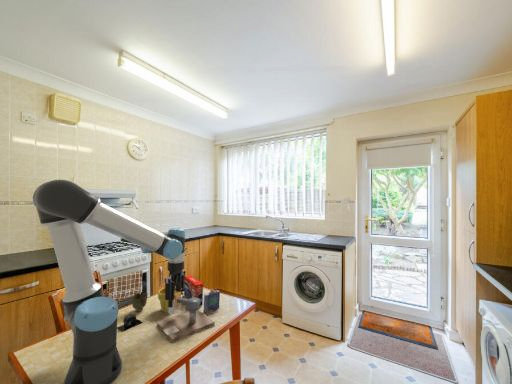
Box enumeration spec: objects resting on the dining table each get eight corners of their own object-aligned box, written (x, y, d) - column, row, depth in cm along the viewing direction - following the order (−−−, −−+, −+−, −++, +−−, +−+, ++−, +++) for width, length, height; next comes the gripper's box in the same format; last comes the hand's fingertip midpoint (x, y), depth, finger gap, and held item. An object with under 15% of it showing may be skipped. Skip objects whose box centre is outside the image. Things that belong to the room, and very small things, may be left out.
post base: (170, 343, 92) (171, 323, 93) (155, 325, 105) (156, 308, 105) (214, 325, 106) (214, 308, 107) (196, 311, 119) (197, 296, 119)
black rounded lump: (139, 318, 112) (139, 308, 112) (147, 323, 108) (147, 313, 108) (111, 330, 102) (111, 319, 102) (119, 335, 98) (119, 324, 98)
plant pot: (166, 316, 114) (166, 296, 114) (153, 310, 119) (153, 291, 120) (182, 308, 123) (183, 289, 123) (170, 303, 128) (170, 285, 128)
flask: (205, 313, 117) (205, 292, 118) (202, 311, 119) (202, 290, 120) (220, 308, 123) (220, 287, 124) (217, 306, 126) (217, 286, 126)
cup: (140, 315, 114) (140, 298, 115) (127, 313, 116) (128, 297, 116) (150, 308, 122) (150, 293, 122) (137, 306, 123) (138, 291, 123)
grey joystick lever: (202, 307, 107) (202, 294, 108) (194, 313, 102) (195, 299, 102) (175, 302, 112) (175, 290, 112) (166, 307, 106) (167, 294, 107)
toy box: (202, 305, 126) (203, 283, 127) (195, 307, 124) (196, 285, 124) (190, 294, 141) (190, 274, 141) (183, 295, 138) (184, 276, 139)
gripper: (179, 256, 119) (178, 302, 118) (157, 265, 102) (155, 318, 101) (192, 257, 117) (191, 304, 116) (171, 267, 100) (169, 321, 99)
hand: (174, 311), depth 109 cm, fingers closed on grey joystick lever, 4 cm apart
